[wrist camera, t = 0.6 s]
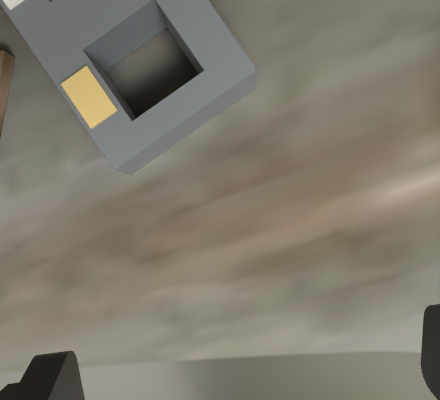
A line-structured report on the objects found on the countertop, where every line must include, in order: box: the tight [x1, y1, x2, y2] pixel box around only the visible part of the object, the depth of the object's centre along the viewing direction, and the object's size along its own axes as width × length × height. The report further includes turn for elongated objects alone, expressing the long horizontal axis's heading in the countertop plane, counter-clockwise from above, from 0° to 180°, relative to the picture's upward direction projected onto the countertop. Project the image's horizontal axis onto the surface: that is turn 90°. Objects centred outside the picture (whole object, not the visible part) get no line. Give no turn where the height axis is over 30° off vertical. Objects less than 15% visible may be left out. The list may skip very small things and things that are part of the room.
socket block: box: [0, 0, 257, 175], centre depth 32 cm, size 22×13×5 cm, turn 35°
